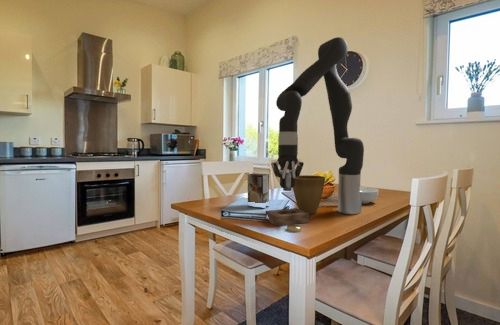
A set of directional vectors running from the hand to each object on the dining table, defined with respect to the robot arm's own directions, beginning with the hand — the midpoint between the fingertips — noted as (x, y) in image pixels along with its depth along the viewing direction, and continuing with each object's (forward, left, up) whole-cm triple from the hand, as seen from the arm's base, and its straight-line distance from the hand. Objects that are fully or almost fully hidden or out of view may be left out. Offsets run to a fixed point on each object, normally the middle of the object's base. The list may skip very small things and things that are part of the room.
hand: (287, 187), depth 108 cm
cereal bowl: (-54, -18, -14) cm, 59 cm away
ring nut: (+3, +11, -14) cm, 18 cm away
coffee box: (+1, -27, -14) cm, 30 cm away
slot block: (0, 0, -13) cm, 13 cm away
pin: (0, 0, -1) cm, 1 cm away
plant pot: (-16, -10, -14) cm, 23 cm away
